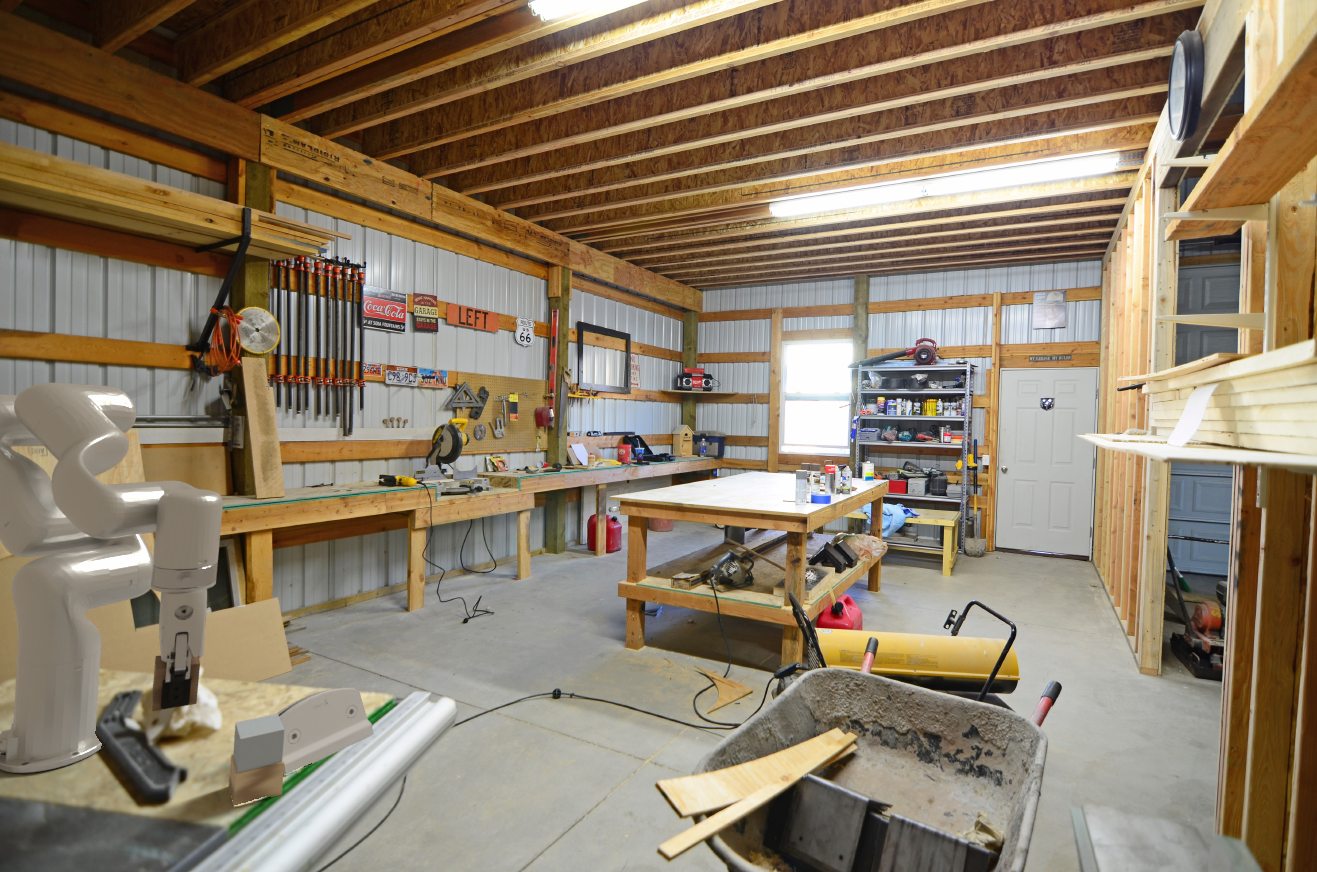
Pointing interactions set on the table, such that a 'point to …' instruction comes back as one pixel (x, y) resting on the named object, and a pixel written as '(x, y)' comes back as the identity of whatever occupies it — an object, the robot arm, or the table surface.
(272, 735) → the grey block
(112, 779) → the table surface
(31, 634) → the robot arm
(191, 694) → the walnut block
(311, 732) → the beige mounting bracket
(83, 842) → the table surface
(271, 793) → the oak block
